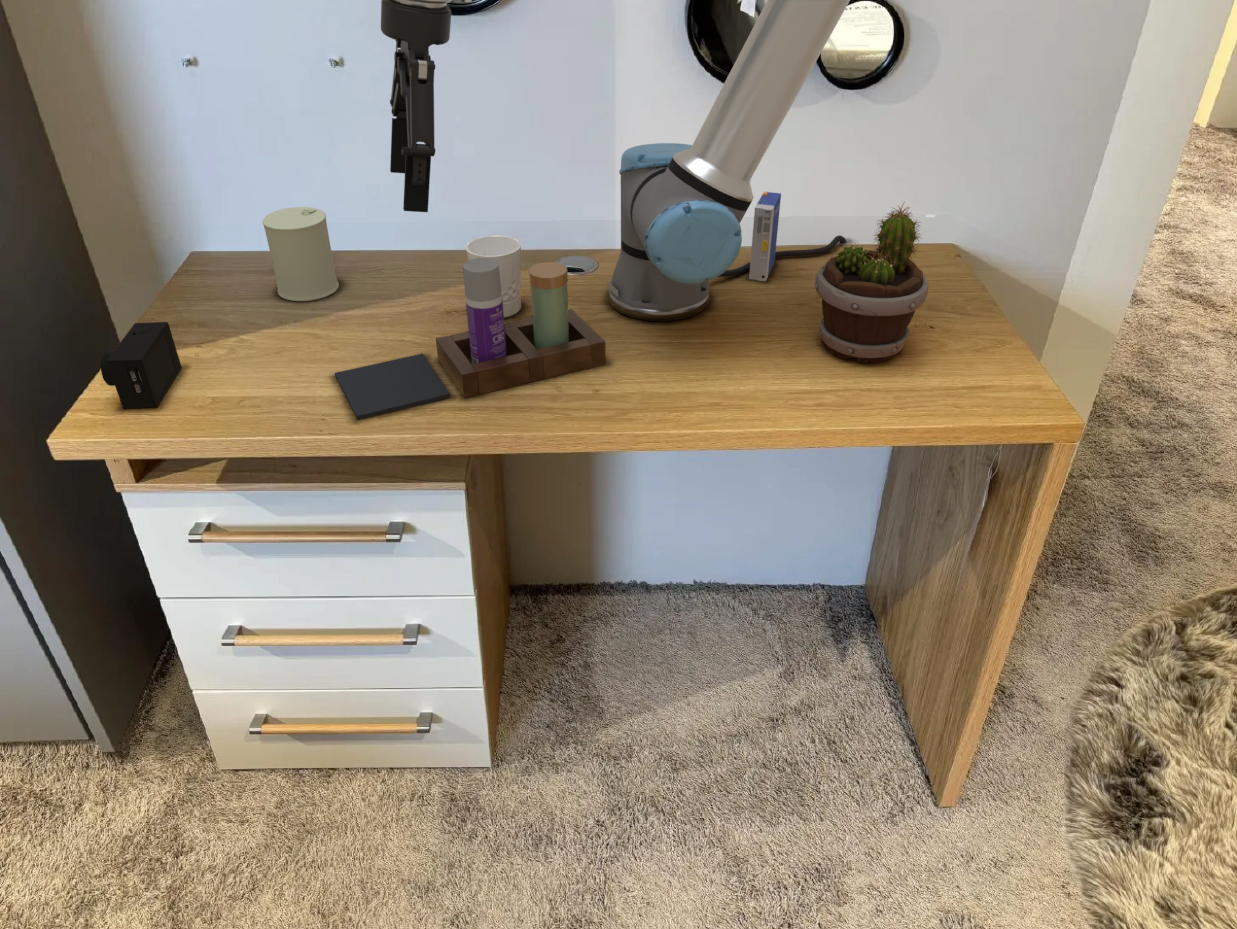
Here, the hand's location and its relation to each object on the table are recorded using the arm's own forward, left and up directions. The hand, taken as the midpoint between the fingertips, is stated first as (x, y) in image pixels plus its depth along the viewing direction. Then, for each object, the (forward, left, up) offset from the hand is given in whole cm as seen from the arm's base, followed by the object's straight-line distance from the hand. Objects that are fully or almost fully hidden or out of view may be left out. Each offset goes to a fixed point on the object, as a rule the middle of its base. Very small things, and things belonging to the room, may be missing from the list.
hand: (408, 190), depth 116 cm
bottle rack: (-11, +5, -24) cm, 27 cm away
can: (+10, -32, -24) cm, 41 cm away
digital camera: (+35, -10, -24) cm, 43 cm away
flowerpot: (-55, +22, -24) cm, 64 cm away
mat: (+6, +4, -24) cm, 25 cm away
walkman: (-57, -6, -24) cm, 62 cm away
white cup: (-14, -12, -24) cm, 30 cm away
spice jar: (-16, +5, -24) cm, 29 cm away
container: (-7, +5, -24) cm, 25 cm away
